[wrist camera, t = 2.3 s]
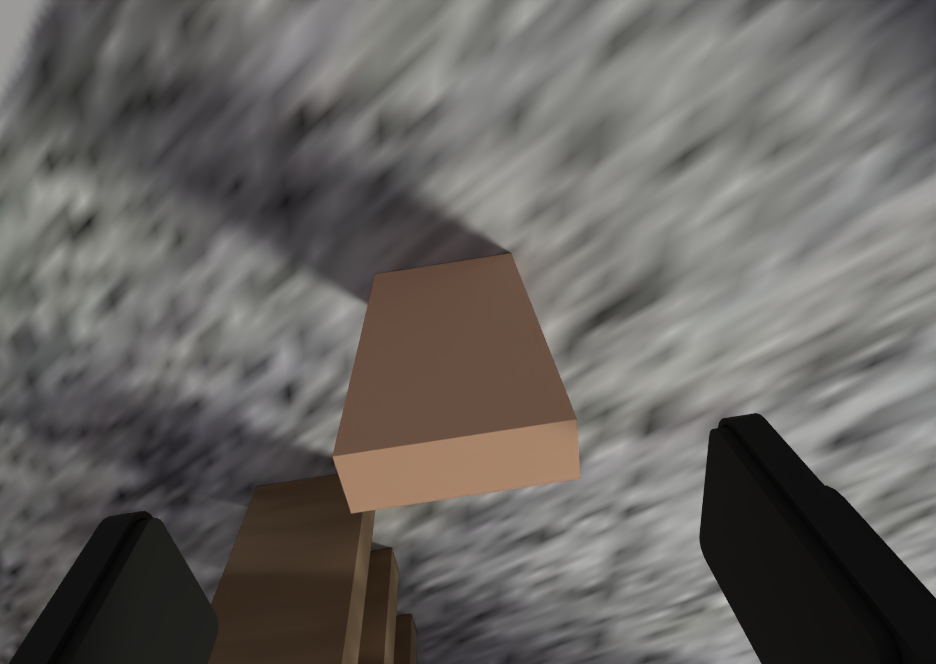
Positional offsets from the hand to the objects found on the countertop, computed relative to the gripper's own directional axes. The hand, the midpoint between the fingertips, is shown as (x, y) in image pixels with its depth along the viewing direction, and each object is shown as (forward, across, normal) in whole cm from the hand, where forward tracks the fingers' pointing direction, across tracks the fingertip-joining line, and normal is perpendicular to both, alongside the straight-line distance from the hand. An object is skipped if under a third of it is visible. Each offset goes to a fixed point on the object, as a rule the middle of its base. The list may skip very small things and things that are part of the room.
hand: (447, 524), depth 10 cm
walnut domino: (+12, +7, +10) cm, 17 cm away
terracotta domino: (+12, 0, +1) cm, 12 cm away
